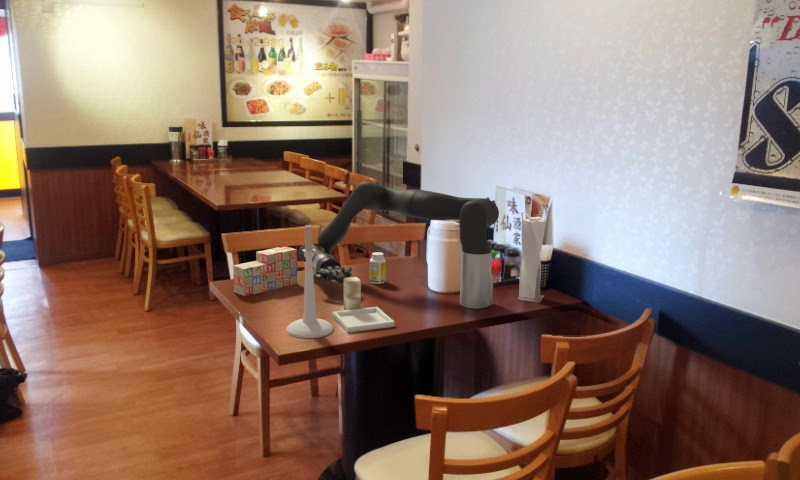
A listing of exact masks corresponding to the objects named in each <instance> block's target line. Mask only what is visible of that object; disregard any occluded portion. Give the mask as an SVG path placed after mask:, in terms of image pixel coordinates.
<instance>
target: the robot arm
mask: <svg viewBox="0 0 800 480" xmlns="http://www.w3.org/2000/svg"><path fill="white" fill-rule="evenodd" d="M363 210H369V211H385V212H386V211H388V212H389V211H390V212H397V213H400V214H402V215H405V216H406V217H411V218H413V219H420V220H425V221H426V220H427V221H451V220H453V221H454V220H455V221H459V242H460V244H461V260H460V261H461V262H460V263H461V265H460V290H459V291H460V292H459V305H460V306H462V307H463V308H468V309H474V310H475V309H476V310H477V309H478V310H479V309H486V308H488V307H490V306H492V305H493V294H494V293H493V291H494V290H493V289H494V276H493V275H492V258H493V257H492V256H493V255H492V254H493V252H492V251H493V244H492V242H491V241H490V240H488V237H487V235H488V234H487V233H488V232H487V231H488V230H487V229H488V228H490V227H491V226H493V225H494V224H495V223H496V222H497V221H498V219H499V216H500V211H499V208H498V206H497V205H496V203H495V202H494V201H492V200H491V199H488V198H485V197H483V198H481V197H480V198H479V197H478V198H477V197H461V196H460V197H459V196H454V195H450V194H447V193H441V192H437V191H436V192H435V191H431V190H430V191H429V190H424V189H414V188H413V189H395V188H392V187H389V186H386V185H382V184H380V183H376V182H371V181H361V182H360V183H358V184H357V185H356V186H355V187H354V189H353V190H352V191H351V193H350V195H349V196H348V198H347V199H346V201H345V202H344V204H343V205H342V207H340V210H339V211H338V212H337V214H336V215H335V216H334V218H333V219H332V220H331V221H330V222H329V224H327V226H326V227H324V229H323V230H322V231H321V232H320V233H319V235H318V236H317V242H318V244H319V245H320V246H321V247H320V246H318V245H316V244H315V243H313V242H312V246H313V249H315V251H314V256H313V257H312V263H313V271H315V279H316V280H322V281H327V282H331V281H333V282H337V283H339V284H344V278H350V277H352V276H353V267H347V268H345V267H344V266H341V263H340V262H339V260H338V259H336V258H335V257H333V256H332V255H331V254H332V252H333V250H334V249H335V248H336V247H337V245H338V244H339V243H341V241H342V240H343V239H344V238H345V237H346V235H347V234H348V232H349V229H350V227H351V224H352V222H353V220H354V218H356V216H357V215H358V214H359V213H360V212H362V211H363ZM303 249H305V242H304V243H303V244H302V245H300V247H299V250H298V257H299V258H300V260H301V261H302V262H304V263H306V257H304V252H303V251H302V250H303Z"/></svg>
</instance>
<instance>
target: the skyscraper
mask: <svg viewBox="0 0 800 480" xmlns="http://www.w3.org/2000/svg"><path fill="white" fill-rule="evenodd" d="M520 214H521V216H520V217H521V235H520V236H521V253H522V255H521V262H520V270H519V281H518V282H519V285H518V288H519V289H518V298H517V301H520V302H528V303H535V304H540V303H541V302H542V301H543V299H544V297H545V296H544V295H541V282H542V281H541V280H542V277H541V276H542V275H541V274H542V263H541V262H542V261H541V252H542V248H543V242H544V239H545V238H544V236H545V231H546V230H545V229H546V219H544V218H543V217H540V216H535V217H534V216H531V217H530V215H529V214H528V213H527V212H524V211H522V212H520ZM524 215H526V216H527V217H528V218H527V219H526V218H525V219H524Z"/></svg>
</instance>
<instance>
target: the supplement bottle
mask: <svg viewBox="0 0 800 480" xmlns="http://www.w3.org/2000/svg"><path fill="white" fill-rule="evenodd" d="M386 261H387V260H386V258H385V257H384V253H383V252H378V251H377V252H372V253H371V258H370V259H369V282H370V283H371V284H374V285H380V284H381V285H383V284H384V283H386V278H387V277H386V276H387V273H386V272H387V271H386V270H387V269H386V268H387V265H386V264H387V262H386Z"/></svg>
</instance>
